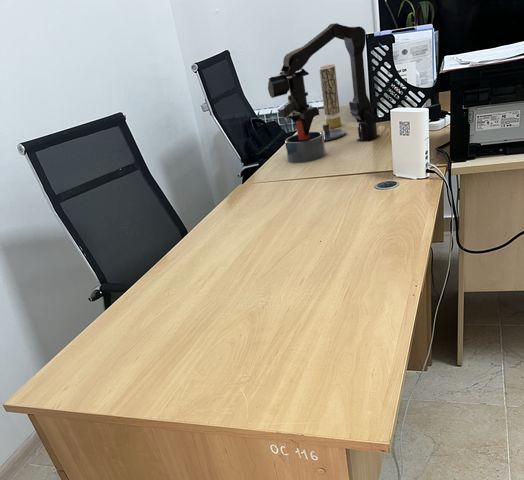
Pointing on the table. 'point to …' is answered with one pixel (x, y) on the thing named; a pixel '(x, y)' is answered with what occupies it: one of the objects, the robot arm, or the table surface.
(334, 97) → the paper tube
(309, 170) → the table surface
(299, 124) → the cylinder
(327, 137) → the lid
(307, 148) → the pot
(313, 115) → the robot arm
